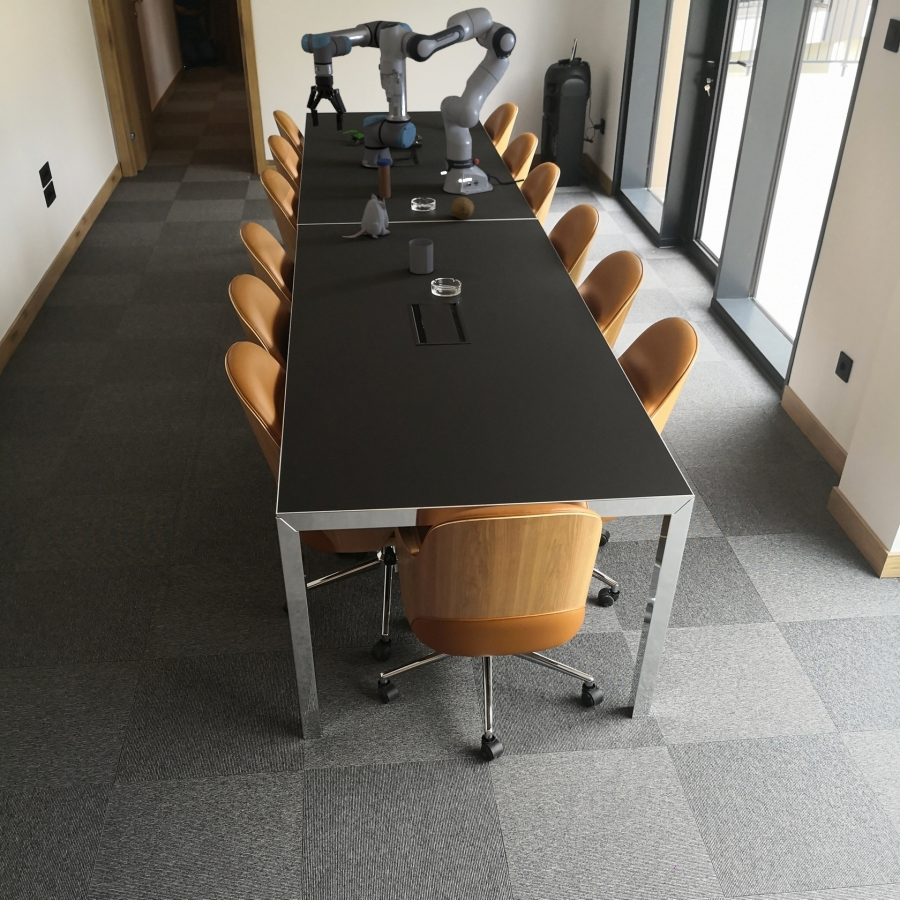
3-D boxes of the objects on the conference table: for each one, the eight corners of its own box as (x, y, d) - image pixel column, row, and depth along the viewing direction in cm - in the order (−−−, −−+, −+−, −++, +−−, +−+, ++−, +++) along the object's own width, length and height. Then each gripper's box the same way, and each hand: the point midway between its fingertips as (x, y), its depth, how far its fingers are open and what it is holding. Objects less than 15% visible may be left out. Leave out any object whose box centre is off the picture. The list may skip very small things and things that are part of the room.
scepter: (398, 127, 467) (342, 124, 464) (398, 142, 460) (341, 139, 457) (398, 136, 472) (342, 134, 469) (398, 151, 464) (341, 149, 462)
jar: (378, 195, 385) (377, 160, 377) (390, 194, 386) (388, 159, 377) (379, 198, 381) (378, 163, 372) (391, 198, 381) (390, 162, 373)
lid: (376, 162, 378) (375, 158, 377) (390, 161, 378) (389, 158, 378) (377, 166, 373) (377, 162, 372) (391, 165, 373) (391, 161, 373)
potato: (472, 212, 364) (472, 193, 359) (475, 223, 352) (475, 203, 348) (449, 213, 363) (449, 193, 359) (451, 223, 351) (451, 204, 347)
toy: (395, 233, 341) (394, 195, 333) (350, 248, 327) (348, 209, 318) (380, 228, 346) (378, 190, 338) (334, 242, 332) (332, 203, 324)
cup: (409, 265, 311) (408, 238, 306) (432, 265, 312) (431, 238, 307) (410, 274, 304) (409, 246, 299) (433, 273, 305) (433, 246, 299)
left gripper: (295, 73, 364) (300, 125, 376) (340, 79, 352) (344, 133, 364) (307, 70, 369) (311, 122, 381) (352, 76, 358) (355, 130, 369)
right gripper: (405, 71, 342) (406, 108, 349) (392, 63, 358) (393, 99, 365) (390, 72, 340) (391, 109, 347) (377, 64, 356) (378, 100, 364)
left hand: (327, 128), depth 372 cm, fingers open, 13 cm apart
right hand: (392, 104), depth 356 cm, fingers open, 8 cm apart
